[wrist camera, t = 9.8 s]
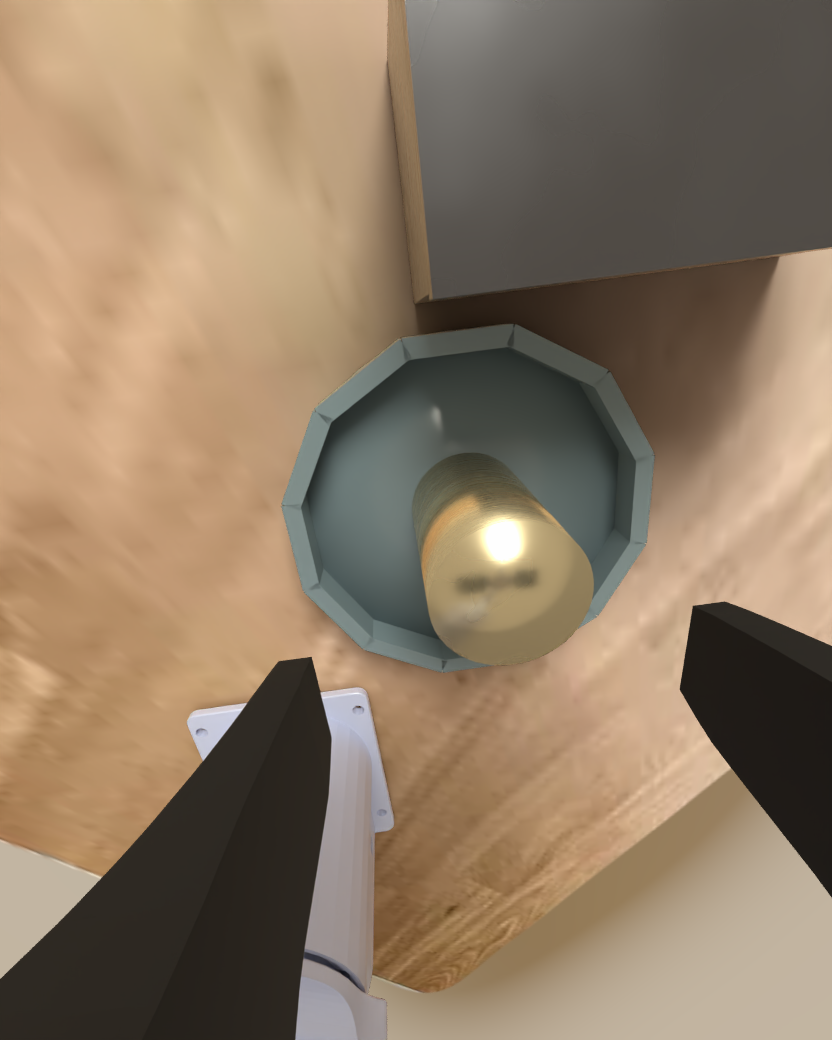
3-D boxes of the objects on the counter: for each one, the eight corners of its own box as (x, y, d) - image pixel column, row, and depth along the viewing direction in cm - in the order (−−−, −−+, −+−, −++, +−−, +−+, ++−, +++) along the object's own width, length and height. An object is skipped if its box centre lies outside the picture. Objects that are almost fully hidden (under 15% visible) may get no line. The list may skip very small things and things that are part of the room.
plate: (611, 612, 20) (637, 644, 18) (333, 651, 20) (328, 688, 18) (630, 306, 15) (668, 303, 13) (262, 354, 15) (243, 358, 13)
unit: (785, 262, 15) (1145, 206, 8) (408, 311, 15) (432, 298, 8) (835, -12, 12) (1433, -458, 5) (377, 43, 12) (372, -344, 5)
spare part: (524, 448, 16) (602, 515, 10) (519, 552, 17) (585, 658, 12) (408, 456, 15) (424, 528, 10) (414, 560, 17) (430, 672, 12)
